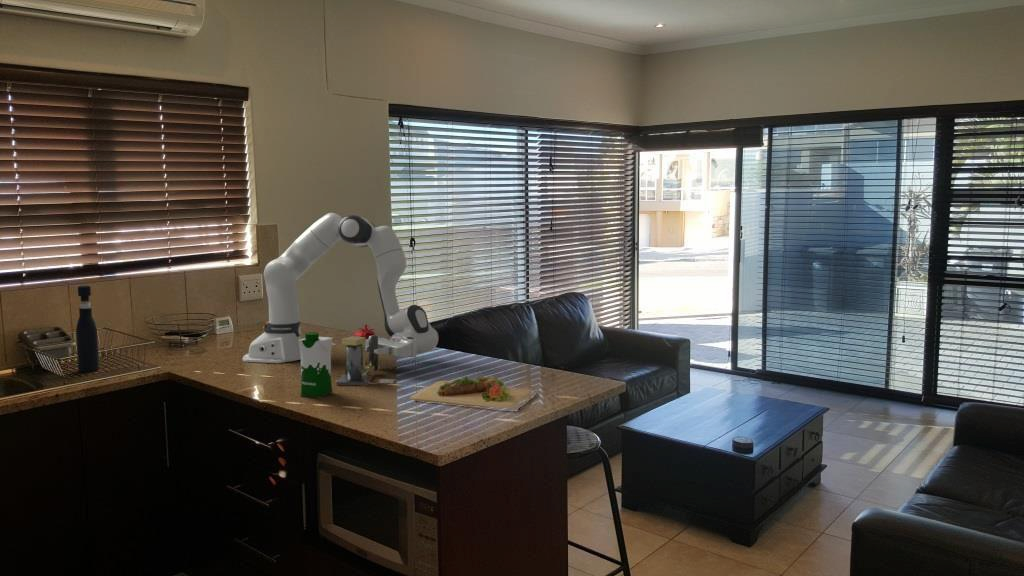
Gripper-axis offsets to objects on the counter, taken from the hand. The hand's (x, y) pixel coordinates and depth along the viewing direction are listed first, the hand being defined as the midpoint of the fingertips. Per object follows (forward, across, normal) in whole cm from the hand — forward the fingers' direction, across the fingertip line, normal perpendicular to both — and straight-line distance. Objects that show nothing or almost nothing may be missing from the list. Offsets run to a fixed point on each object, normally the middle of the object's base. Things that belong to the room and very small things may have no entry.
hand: (370, 350), depth 262 cm
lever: (+5, +2, +7) cm, 9 cm away
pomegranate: (-30, -42, +9) cm, 52 cm away
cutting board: (-6, +46, +10) cm, 47 cm away
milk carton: (+27, +8, +9) cm, 30 cm away
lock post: (+4, +4, +9) cm, 10 cm away
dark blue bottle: (+66, -75, +9) cm, 100 cm away
